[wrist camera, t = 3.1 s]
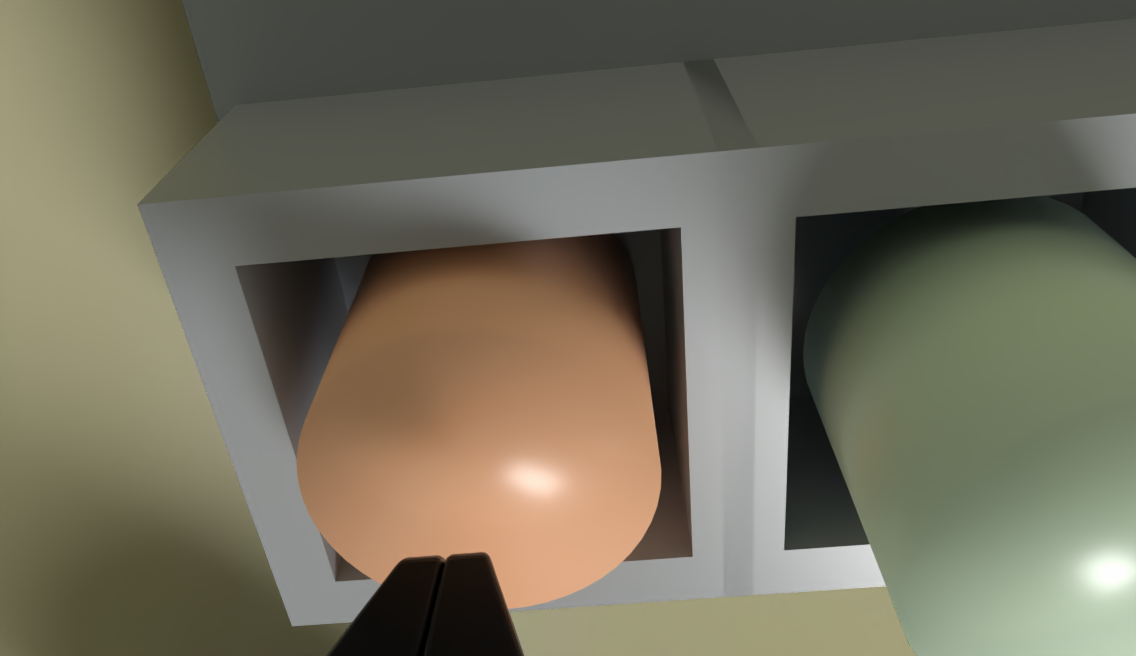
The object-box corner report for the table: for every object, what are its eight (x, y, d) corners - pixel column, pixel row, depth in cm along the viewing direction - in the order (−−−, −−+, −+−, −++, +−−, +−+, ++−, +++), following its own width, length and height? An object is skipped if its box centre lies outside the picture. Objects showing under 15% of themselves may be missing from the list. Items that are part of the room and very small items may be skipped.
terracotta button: (629, 162, 12) (652, 312, 9) (644, 402, 15) (668, 598, 11) (337, 189, 13) (253, 345, 9) (394, 422, 15) (342, 620, 11)
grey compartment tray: (1750, -353, 11) (2408, -420, 7) (1362, 490, 18) (1585, 694, 14) (168, -176, 12) (-28, -149, 8) (376, 561, 18) (325, 769, 15)
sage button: (1160, 175, 11) (1444, 370, 7) (1091, 448, 13) (1285, 700, 9) (809, 206, 11) (923, 410, 7) (797, 470, 13) (881, 725, 9)
